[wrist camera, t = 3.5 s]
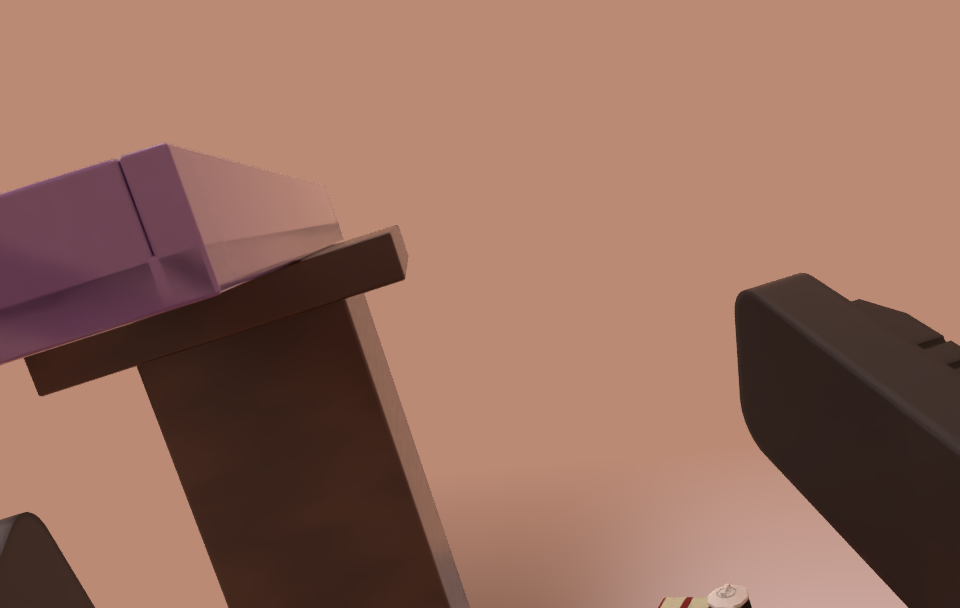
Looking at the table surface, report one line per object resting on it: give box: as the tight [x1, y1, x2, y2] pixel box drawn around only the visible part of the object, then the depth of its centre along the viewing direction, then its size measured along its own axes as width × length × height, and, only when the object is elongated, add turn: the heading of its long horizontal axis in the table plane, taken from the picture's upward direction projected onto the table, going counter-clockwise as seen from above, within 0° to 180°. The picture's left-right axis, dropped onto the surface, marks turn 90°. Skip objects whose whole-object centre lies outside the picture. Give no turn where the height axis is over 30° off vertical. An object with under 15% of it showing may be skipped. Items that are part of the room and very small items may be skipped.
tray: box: [0, 143, 343, 365], centre depth 21 cm, size 5×20×2 cm, turn 5°
